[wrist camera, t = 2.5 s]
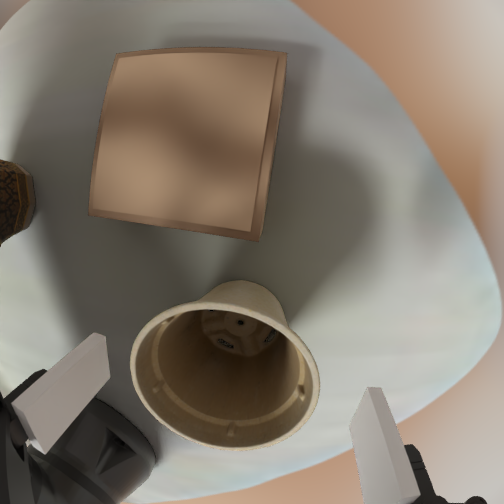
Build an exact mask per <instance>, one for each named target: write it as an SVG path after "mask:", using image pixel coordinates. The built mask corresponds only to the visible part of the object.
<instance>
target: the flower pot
mask: <svg viewBox="0 0 504 504" xmlns="http://www.w3.org/2000/svg"><path fill="white" fill-rule="evenodd" d="M208 309H214V310H213V311H209V310H208ZM239 320H241V321H243V325H239V324H238V321H239ZM272 329H275V330H276V333H275V336H274V337H273V339H272V340H271V341H269V342H265V340H266V338H267V337H268V335H269V334H270V332H271V330H272ZM219 339H223V340H225V341H226V342H227V343H229V344H231V345H233V346H234V347H233V348H231V347H227V346H225V345H223V344H221V343H220V342H219V341H218V340H219ZM130 370H131V374H132V380H133V385H134V387H135V390H136V392H137V394H138V396H139V398H140V399H141V401H142V403H143V404H144V406H145V407H146V408H147V409H148V411H149V412H150V413H151V414H152V415H153V416H154V417H155V418H156V419H157V420H158V421H159V422H160V423H162V424H163V425H165V426H166V427H167V428H168V429H170V430H171V431H172V432H174V433H176V434H178V435H180V436H182V437H183V438H185V439H187V440H190V441H192V442H195V443H198V444H201V445H204V446H207V447H211V448H216V449H220V450H232V451H234V450H236V451H243V450H254V449H259V448H263V447H269V446H271V445H274V444H277V443H279V442H281V441H283V440H285V439H287V438H288V437H290V436H291V435H293V434H294V433H295V432H297V431H298V430H299V429H300V428H301V427H302V426H303V425H304V424H305V423H306V422H307V420H308V419H309V418H310V416H311V415H312V413H313V411H314V409H315V407H316V405H317V401H318V398H319V392H320V378H319V372H318V368H317V365H316V362H315V360H314V358H313V356H312V354H311V352H310V350H309V349H308V347H307V346H306V345H305V343H304V342H303V341H302V340H301V338H300V337H299V336H298V335H297V334H296V333H295V332H294V331H292V330H291V329H290V328H289V326H288V324H287V321H286V318H285V316H284V312H283V309H282V307H281V305H280V303H279V301H278V300H277V298H276V297H275V296H274V295H273V294H272V293H271V292H270V291H269V290H267V289H266V288H264V287H263V286H261V285H259V284H256V283H253V282H250V281H244V280H238V281H230V282H226V283H223V284H220V285H218V286H216V287H215V288H213V289H212V290H211V291H210V292H209V293H207V294H206V295H204V296H203V297H202V298H200V299H199V300H198V301H193V302H188V303H184V304H180V305H177V306H174V307H172V308H169V309H167V310H165V311H164V312H162V313H160V314H159V315H157V316H155V317H154V318H153V319H152V320H150V321H149V322H148V323H147V324H146V325H145V326H144V327H143V329H142V330H141V331H140V332H139V334H138V336H137V338H136V339H135V341H134V344H133V347H132V350H131V355H130Z"/></svg>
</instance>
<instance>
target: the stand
mask: <svg viewBox="0 0 504 504" xmlns="http://www.w3.org/2000/svg"><path fill="white" fill-rule="evenodd" d="M286 66H287V53H284V52H277V51H268V50H257V49H244V48H224V47H184V48H164V49H152V50H141V51H133V52H125V53H118V54H116V56H115V59H114V63H113V66H112V70H111V74H110V77H109V81H108V85H107V89H106V93H105V98H104V102H103V107H102V111H101V116H100V121H99V127H98V132H97V138H96V144H95V151H94V158H93V166H92V174H91V184H90V195H89V209H88V215H89V216H96V217H102V218H109V219H116V220H123V221H129V222H136V223H142V224H149V225H156V226H162V227H168V228H175V229H181V230H188V231H194V232H200V233H207V234H213V235H219V236H225V237H232V238H238V239H244V240H250V241H256V242H259V239H260V236H261V234H262V230H263V224H264V218H265V211H266V205H267V198H268V192H269V185H270V179H271V172H272V166H273V159H274V153H275V146H276V140H277V133H278V126H279V120H280V113H281V106H282V99H283V93H284V86H285V79H286Z"/></svg>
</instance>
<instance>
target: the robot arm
mask: <svg viewBox="0 0 504 504" xmlns="http://www.w3.org/2000/svg"><path fill="white" fill-rule="evenodd" d="M110 377H111V376H110V369H109V361H108V353H107V344H106V336H103V335H101V334H98V333H95V332H94V333H92V334H91V335H90V336H89V337H88V338H86V339H85V340H84V341H83V342H81V343H80V344H79V345H78V346H77V347H75V348H74V349H73V350H72V351H71V352H70V353H68V354H67V355H66V356H65V357H64V358H62V359H61V360H60V361H59V362H58V363H57V364H55V365H54V366H53V367H52V368H51V369H50V370H48V371H47V370H45V369H42V370H39V371H37V372H34V373H33V374H32V375H31V376H30V377H29V378H28V379H26V380H25V381H24V382H23V383H22V384H20V385H19V386H18V387H17V388H16V389H14V390H13V391H12V392H11V393H10V394H9V395H7V396H6V397H5V398H4V399H3V397H2V394H1V392H0V504H120V503H121V502H122V501H123V500H124V499H126V498H127V497H128V496H129V495H130V494H131V493H133V492H134V491H135V490H136V489H137V488H138V487H139V486H140V485H142V484H143V483H144V482H145V481H146V480H147V479H148V478H149V476H150V474H151V472H152V470H153V467H154V465H155V462H156V458H155V454H154V451H153V449H152V447H151V445H150V444H149V442H148V441H147V440H146V438H145V437H144V436H143V435H142V434H141V432H140V431H139V430H138V429H137V428H136V427H135V426H134V425H132V424H131V423H130V422H129V421H128V420H127V419H126V418H124V417H123V416H122V415H120V414H119V413H118V412H116V411H115V410H114V409H112V408H111V407H109V406H108V405H106V404H104V403H103V402H101V401H99V400H97V399H95V398H93V397H94V396H95V395H96V394H97V393H98V391H99V390H100V389H101V388H102V387H103V386H104V384H105V383H106V382H107V381H108V380H109V379H110ZM349 427H350V432H351V437H352V442H353V447H354V452H355V457H356V462H357V467H358V473H359V478H360V484H361V489H362V495H363V501H364V504H487V502H486V501H485V500H484V499H483V498H482V497H478V496H473V497H471V498H469V499H468V500H467V501H466V502H465V503H448V502H447V501H446V500H445V499H444V498H443V497H441V496H437V495H436V494H435V492H434V489H433V486H432V483H431V481H430V478H429V475H428V473H427V470H426V469H425V465H424V462H423V460H422V457H421V455H420V452H419V451H418V450H417V449H416V448H415V446H414V445H412V444H410V445H403V442H402V440H401V437H400V434H399V431H398V429H397V426H396V424H395V421H394V418H393V416H392V413H391V411H390V408H389V406H388V403H387V401H386V398H385V396H384V394H383V391H382V389H381V388H376V387H367V389H366V391H365V393H364V395H363V398H362V400H361V402H360V404H359V406H358V408H357V410H356V412H355V414H354V416H353V418H352V420H351V422H350V424H349ZM28 438H29V440H30V442H31V443H30V445H29V446H28V447H27V446H26V443H25V442H26V441H27V439H28Z"/></svg>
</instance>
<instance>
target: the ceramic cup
mask: <svg viewBox="0 0 504 504" xmlns="http://www.w3.org/2000/svg"><path fill="white" fill-rule="evenodd" d="M35 204H36V200H35V194H34V187H33V180H32V176H31V175H30V174H29V173H28V172H27V171H26V170H25V169H24V168H22V167H21V166H20V165H19V164H16V163H12V162H8V161H4V160H0V247H1V244H2V243H3V242H4V241H6V240H7V239H8V238H10V237H11V236H13V235H15V234H17V233H19V232H21V231H23V230H25V229H27V228H28V227H29V225H30V221H31V218H32V214H33V211H34V208H35Z"/></svg>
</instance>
